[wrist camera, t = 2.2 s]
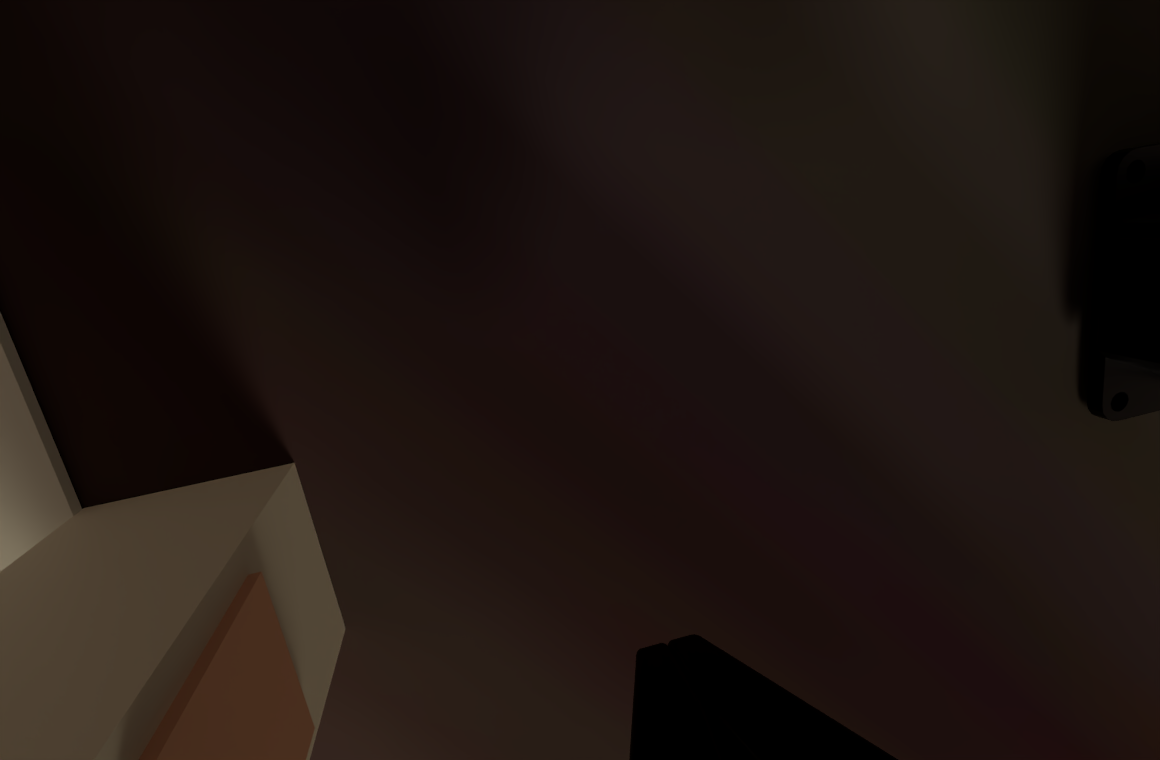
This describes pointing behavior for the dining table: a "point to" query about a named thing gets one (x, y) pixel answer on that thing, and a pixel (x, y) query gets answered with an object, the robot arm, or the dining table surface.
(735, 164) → the dining table surface
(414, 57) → the dining table surface
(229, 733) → the block
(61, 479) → the mat
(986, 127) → the dining table surface
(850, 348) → the dining table surface
